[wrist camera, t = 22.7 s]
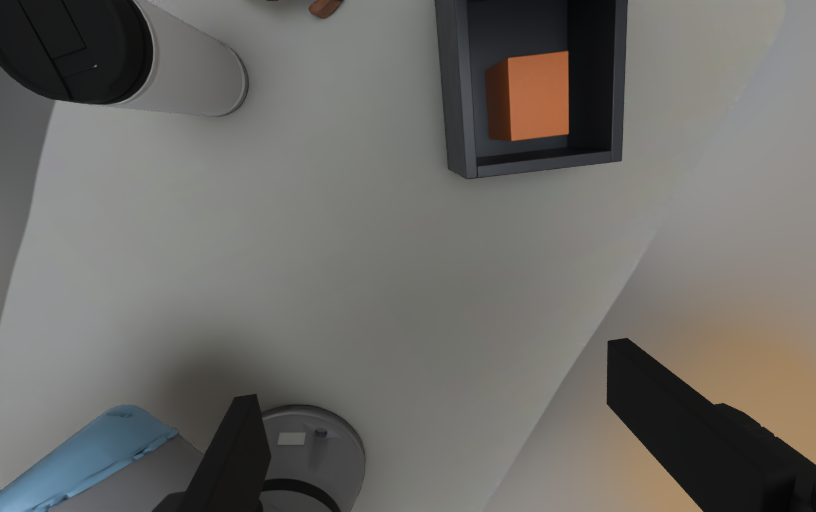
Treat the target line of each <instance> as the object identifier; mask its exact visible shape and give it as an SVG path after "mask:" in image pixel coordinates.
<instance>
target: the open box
mask: <svg viewBox="0 0 816 512" xmlns="http://www.w3.org/2000/svg"><path fill="white" fill-rule="evenodd" d="M627 5H628V0H435V8H436V21H437V34H438V46H439V59H440V72H441V84H442V97H443V110H444V122H445V135H446V148H447V160H448V169H449V170H451V171H453V172H454V173H456V174H458V175H460V176H462V177H464V178H466V179H473V178H482V177H491V176H499V175H508V174H516V173H525V172H533V171H542V170H550V169H559V168H567V167H576V166H585V165H593V164H602V163H610V162H618V161H622V142H623V114H624V87H625V60H626V33H627ZM562 51H568V77H569V134H566V135H558V136H550V137H542V138H533V139H525V140H517V141H503V140H490V139H489V130H488V113H487V96H486V78H485V71H486V70H488V69H489V68H491V67H493V66H495V65H496V64H498V63H500V62H502V61H503V60H505V59H507V58H510V57H519V56H527V55H536V54H545V53H553V52H562Z"/></svg>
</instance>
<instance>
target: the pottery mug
mask: <svg viewBox="0 0 816 512" xmlns="http://www.w3.org/2000/svg"><path fill="white" fill-rule="evenodd" d="M267 1H278V0H267ZM341 1H342V0H317V1H316V2H314V3H313V4H312V5H311V6H310V7H309V11H310V12H311V13H312V14H313V15H317V16H318V17H320V18H326V17H327V16H329V15H330V14H331V13H332V12H333V11H334V10H335V9H336V8H337V7H338V6H339V4H340V3H341Z"/></svg>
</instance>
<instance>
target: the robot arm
mask: <svg viewBox="0 0 816 512" xmlns="http://www.w3.org/2000/svg"><path fill="white" fill-rule="evenodd" d="M607 354H608V355H607V405H608V406H609V407H610V408H611V409H612V410H613V411H614V412H615V414H616V415H617V416H618V417H619V418H620V419H621V420H622V421H623V422H624V424H625V425H626V426H627V427H628V428H629V429H630V430H631V431H632V433H634V435H635V436H636V437H637V438H638V439H639V440H640V441H641V442H642V444H643V445H644V446H645V447H646V448H647V449H648V450H649V451H650V453H651V454H652V455H653V456H654V457H655V458H656V459H657V460H658V461H659V463H660V464H661V465H662V466H663V467H664V468H665V469H666V470H667V472H668V473H669V474H670V475H671V476H672V477H673V478H674V479H675V480H676V481H677V483H678V484H679V485H680V486H681V487H682V488H683V489H684V490H685V492H686V493H687V494H688V495H689V496H690V497H691V498H692V499H693V501H695V503H696V504H697V505H698V506H699V507H700V508H701V509H702V511H703V512H816V465H815V464H814V463H812V462H811V461H810V460H808V459H807V458H806V457H804V456H803V455H802V454H800V453H799V452H798V451H796V450H795V449H793V448H792V447H791V446H789V445H788V444H786V443H785V442H784V441H782V440H781V439H780V438H778V437H775V436H774V434H773V433H771V432H770V431H769V430H767V429H766V428H765V427H761V425H760V424H759V423H758V422H756V421H755V420H754V419H752V418H751V417H750V416H748V415H747V414H745V413H744V412H742V411H739V410H737V409H735V408H733V407H731V406H728V405H726V404H724V403H721V404H715V405H714V404H712V403H711V402H710V401H708V400H707V399H706V398H705V397H703V396H702V395H701V394H699V393H698V392H697V391H695V390H694V389H693V388H691V387H690V386H689V385H688V384H686V383H685V382H684V381H682V380H681V379H680V378H679V377H677V376H676V375H675V374H673V373H672V372H671V371H670V370H668V369H667V368H666V367H664V366H663V365H661V364H660V363H659V362H658V361H657V360H655V359H654V358H653V357H651V356H650V355H649V354H647V353H646V352H645V351H643V350H642V349H641V348H640V347H638V346H637V345H636V344H634V343H633V342H632V341H631V340H629V339H628V338H624V339H617V340H610V341H608V353H607ZM178 433H179V431H178V430H177V429H176V428H170V427H168V426H167V425H166V424H164V423H163V422H161V421H160V420H158V419H157V418H155V417H154V416H153V415H151V414H150V413H148V412H147V411H145V410H144V409H142V408H140V407H138V406H134V405H121V406H117V407H114V408H112V409H110V410H108V411H106V412H105V413H103V414H102V415H100V416H99V417H97V418H96V419H95V420H93V421H92V422H90V423H89V424H88V425H86V426H85V427H84V428H82V429H81V430H80V431H78V432H77V433H76V434H74V435H73V436H72V437H70V438H69V439H68V440H66V441H65V442H64V443H62V444H61V445H60V446H58V447H57V448H56V449H55V450H53V451H52V452H51V453H49V454H48V455H47V456H45V457H44V458H43V459H41V460H40V461H39V462H37V463H36V464H35V465H33V466H32V467H31V468H29V469H28V470H27V471H26V472H24V473H23V474H22V475H20V476H19V477H18V478H16V479H15V480H14V481H13V482H11V483H10V484H9V485H7V486H6V487H5V488H3V489H2V490H1V491H0V512H351V509H352V507H353V505H354V502H355V500H356V498H357V496H358V494H359V492H360V490H361V487H362V483H363V480H364V471H365V454H364V449H363V446H362V443H361V441H360V439H359V437H358V435H357V434H356V432H355V431H354V430H353V429H352V428H351V427H350V425H349V424H347V423H346V422H345V421H344V420H342V419H341V418H340V417H338V416H336V415H334V414H333V413H330V412H328V411H326V410H323V409H320V408H316V407H311V406H302V405H294V406H284V407H279V408H275V409H272V410H269V411H267V412H264V413H262V414H261V411H260V407H259V403H258V399H257V395H256V394H252V395H245V396H239V397H235V398H234V399H233V401H232V403H231V405H230V407H229V409H228V411H227V413H226V415H225V417H224V419H223V421H222V422H221V424H220V426H219V428H218V430H217V432H216V434H215V436H214V438H213V440H212V442H211V444H210V445H209V447H208V449H207V451H206V453H205V455H204V454H202V453H201V452H200V451H199V450H197V449H196V448H195V447H194V446H192V445H191V444H190V443H189V442H187V441H186V440H185V439H184V438H183V437H181V436H180V435H179V434H178Z"/></svg>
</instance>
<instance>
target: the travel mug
mask: <svg viewBox="0 0 816 512" xmlns="http://www.w3.org/2000/svg"><path fill="white" fill-rule="evenodd" d="M0 66H1V67H2V68H3V69H4V70H5V71H6V72H7V73H8V74H9V76H11V77H12V78H13V79H14V80H16V81H17V82H18V83H20V84H21V85H23V86H24V87H26V88H27V89H29V90H31V91H33V92H35V93H37V94H39V95H41V96H44V97H47V98H50V99H54V100H61V101H68V102H75V103H82V104H89V105H94V106H105V107H114V108H125V109H136V110H147V111H159V112H170V113H181V114H192V115H204V116H223V115H227V114H229V113H232V112H233V111H235V110H236V109H237V108H238V107H239V106H240V105H241V104H242V103H243V101H244V99H245V97H246V94H247V90H248V77H247V72H246V69H245V66H244V64H243V62H242V61H241V59H240V58H239V56H238V55H237V54H236V53H235V52H234V51H233V50H232V49H231V48H229V47H228V46H226V45H225V44H223V43H221V42H219V41H218V40H216V39H214V38H212V37H210V36H209V35H207V34H205V33H203V32H202V31H200V30H198V29H196V28H194V27H193V26H191V25H189V24H187V23H186V22H184V21H182V20H180V19H179V18H177V17H175V16H173V15H171V14H170V13H168V12H166V11H164V10H163V9H161V8H159V7H157V6H155V5H154V4H152V3H150V2H148V1H147V0H0Z"/></svg>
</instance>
